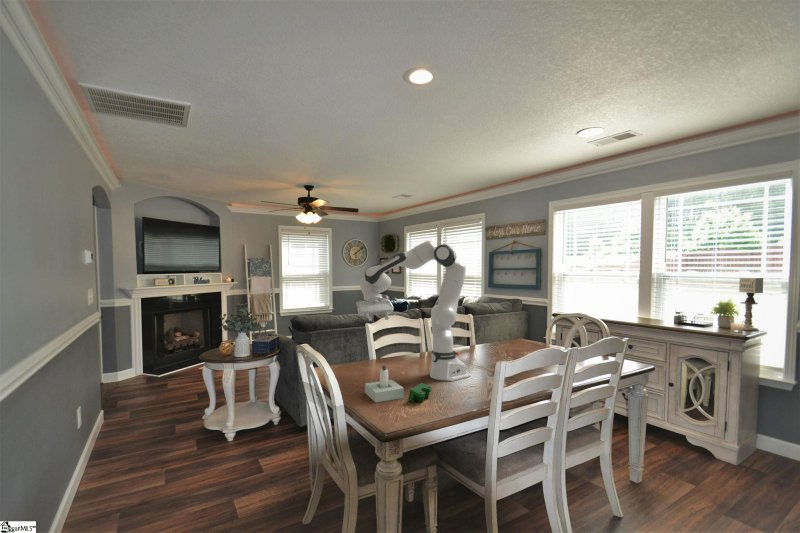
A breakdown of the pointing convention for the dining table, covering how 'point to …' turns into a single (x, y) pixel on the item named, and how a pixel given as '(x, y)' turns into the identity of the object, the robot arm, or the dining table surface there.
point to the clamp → (419, 392)
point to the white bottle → (383, 377)
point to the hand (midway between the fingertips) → (379, 319)
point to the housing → (384, 391)
